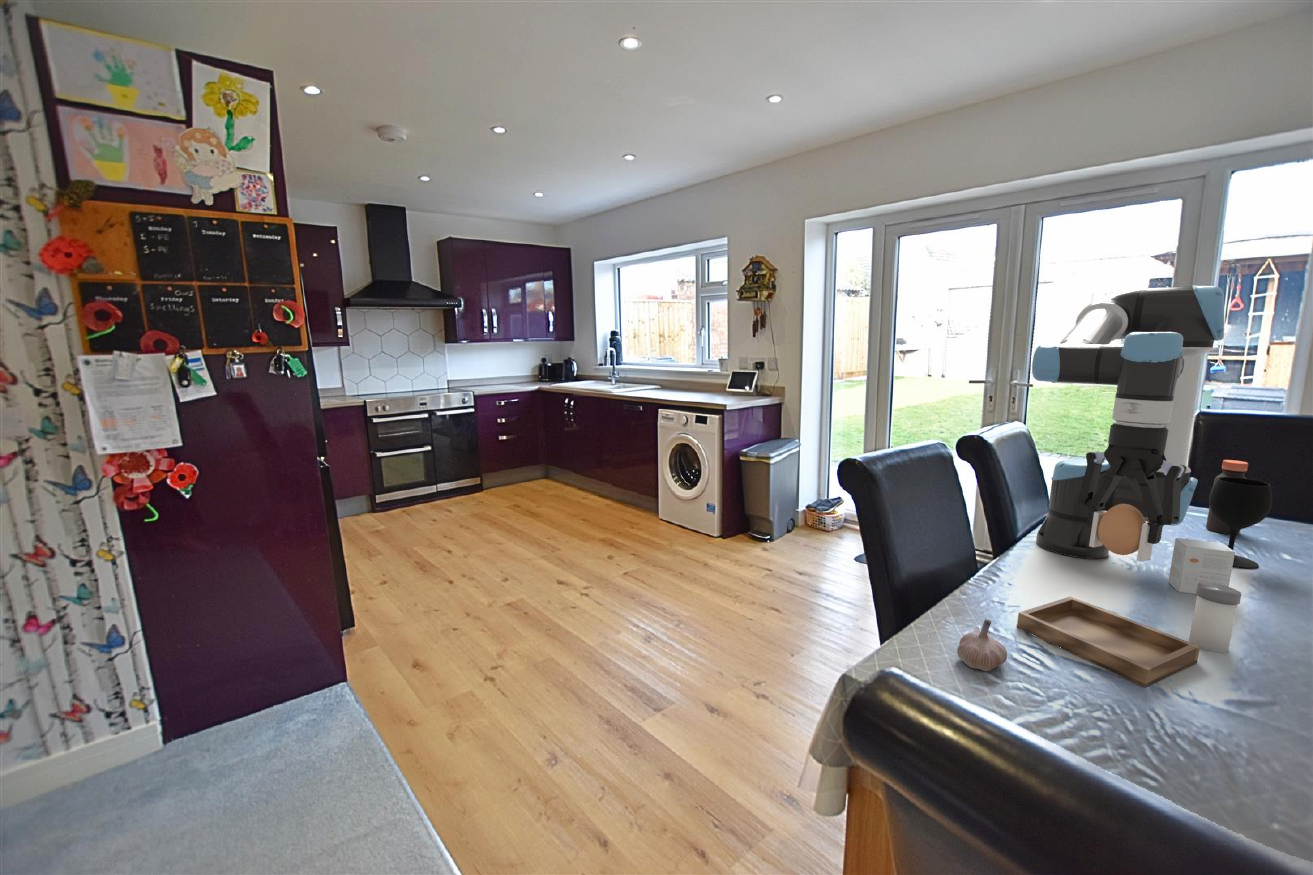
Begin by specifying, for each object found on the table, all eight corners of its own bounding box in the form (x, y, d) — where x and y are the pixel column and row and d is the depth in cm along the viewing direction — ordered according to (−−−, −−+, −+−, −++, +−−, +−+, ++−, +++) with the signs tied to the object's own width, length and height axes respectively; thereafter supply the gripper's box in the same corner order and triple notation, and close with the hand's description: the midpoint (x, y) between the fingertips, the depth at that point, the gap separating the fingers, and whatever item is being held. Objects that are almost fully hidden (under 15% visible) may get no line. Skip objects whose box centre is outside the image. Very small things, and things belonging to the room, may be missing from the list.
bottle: (1199, 526, 161) (1211, 458, 157) (1225, 527, 160) (1238, 459, 156) (1218, 534, 154) (1232, 464, 151) (1246, 535, 153) (1260, 464, 150)
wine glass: (1211, 565, 133) (1227, 484, 130) (1190, 550, 143) (1204, 474, 139) (1269, 572, 129) (1287, 489, 126) (1243, 556, 139) (1259, 478, 135)
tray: (1016, 627, 104) (1018, 612, 104) (1068, 610, 111) (1070, 596, 110) (1144, 687, 87) (1147, 669, 86) (1197, 662, 93) (1200, 646, 93)
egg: (1153, 560, 96) (1162, 509, 95) (1121, 561, 95) (1129, 510, 94) (1116, 546, 103) (1124, 498, 101) (1085, 548, 102) (1093, 499, 100)
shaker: (1181, 640, 100) (1191, 585, 98) (1196, 634, 102) (1206, 580, 100) (1221, 656, 95) (1232, 598, 93) (1236, 649, 97) (1247, 592, 95)
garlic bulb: (998, 654, 96) (1003, 611, 94) (1015, 679, 89) (1021, 633, 87) (950, 649, 97) (954, 606, 96) (963, 673, 90) (967, 627, 89)
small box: (1214, 588, 121) (1223, 542, 119) (1227, 599, 116) (1236, 551, 114) (1166, 581, 124) (1174, 536, 122) (1177, 592, 119) (1185, 545, 117)
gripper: (1064, 417, 102) (1047, 537, 106) (1202, 433, 85) (1176, 576, 88) (1088, 416, 105) (1071, 532, 109) (1226, 431, 88) (1200, 569, 92)
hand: (1118, 552), depth 99 cm, fingers closed on egg, 7 cm apart
